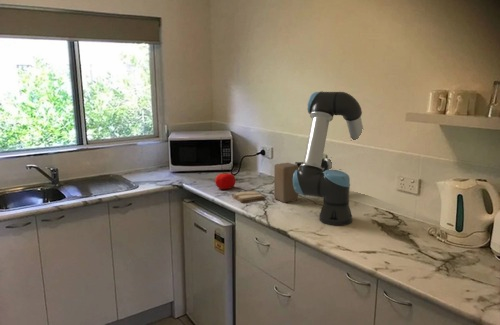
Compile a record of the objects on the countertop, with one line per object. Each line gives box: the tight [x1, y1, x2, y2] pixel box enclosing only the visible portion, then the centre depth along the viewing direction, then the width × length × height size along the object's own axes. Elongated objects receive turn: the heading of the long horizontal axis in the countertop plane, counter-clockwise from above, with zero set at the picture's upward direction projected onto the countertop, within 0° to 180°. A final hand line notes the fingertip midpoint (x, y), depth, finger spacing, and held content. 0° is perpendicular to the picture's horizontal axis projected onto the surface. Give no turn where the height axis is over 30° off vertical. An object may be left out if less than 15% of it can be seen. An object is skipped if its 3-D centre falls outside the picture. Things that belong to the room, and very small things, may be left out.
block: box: [273, 162, 299, 204], centre depth 214 cm, size 10×10×20 cm
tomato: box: [214, 172, 236, 190], centre depth 239 cm, size 11×13×10 cm
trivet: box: [231, 190, 266, 204], centre depth 220 cm, size 14×14×2 cm
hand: (293, 169), depth 216 cm, fingers open, 13 cm apart
